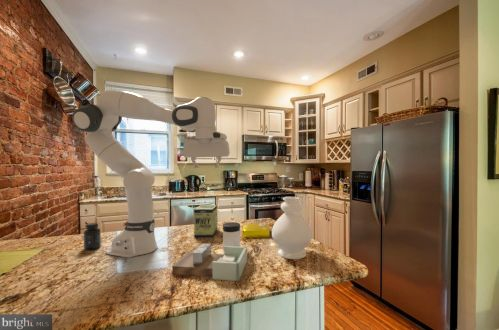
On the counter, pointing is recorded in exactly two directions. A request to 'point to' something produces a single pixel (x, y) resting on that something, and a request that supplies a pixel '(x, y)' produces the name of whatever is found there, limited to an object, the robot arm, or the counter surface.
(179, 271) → the board
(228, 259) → the tile far
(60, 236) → the counter surface
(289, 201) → the decorative vase
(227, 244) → the jar
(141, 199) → the robot arm
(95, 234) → the supplement bottle
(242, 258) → the box
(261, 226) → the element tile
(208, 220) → the protein box
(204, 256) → the grey block
